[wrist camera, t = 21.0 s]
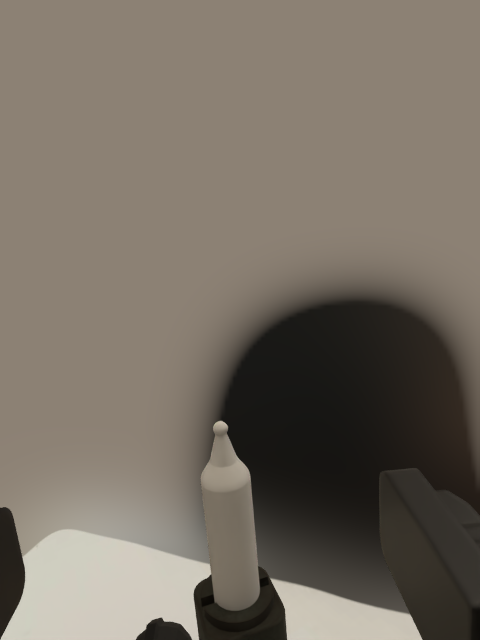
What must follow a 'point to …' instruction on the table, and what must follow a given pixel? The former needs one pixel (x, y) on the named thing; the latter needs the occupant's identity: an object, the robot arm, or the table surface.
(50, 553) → the table surface
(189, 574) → the table surface
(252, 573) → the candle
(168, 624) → the microphone
